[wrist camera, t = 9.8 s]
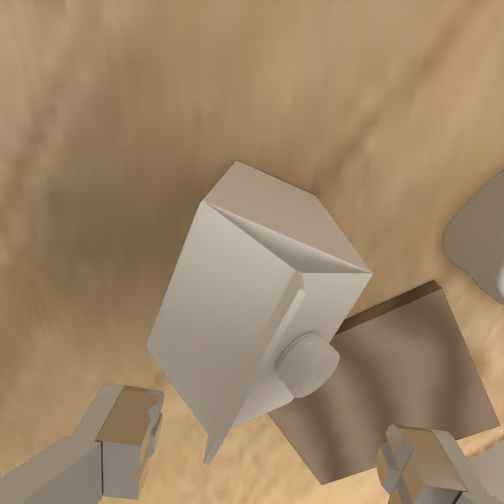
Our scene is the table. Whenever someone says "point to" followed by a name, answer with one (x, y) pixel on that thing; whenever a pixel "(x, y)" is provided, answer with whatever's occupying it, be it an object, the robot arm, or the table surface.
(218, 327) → the milk carton
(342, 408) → the walnut board
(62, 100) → the table surface
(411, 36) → the table surface
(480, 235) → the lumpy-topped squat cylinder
